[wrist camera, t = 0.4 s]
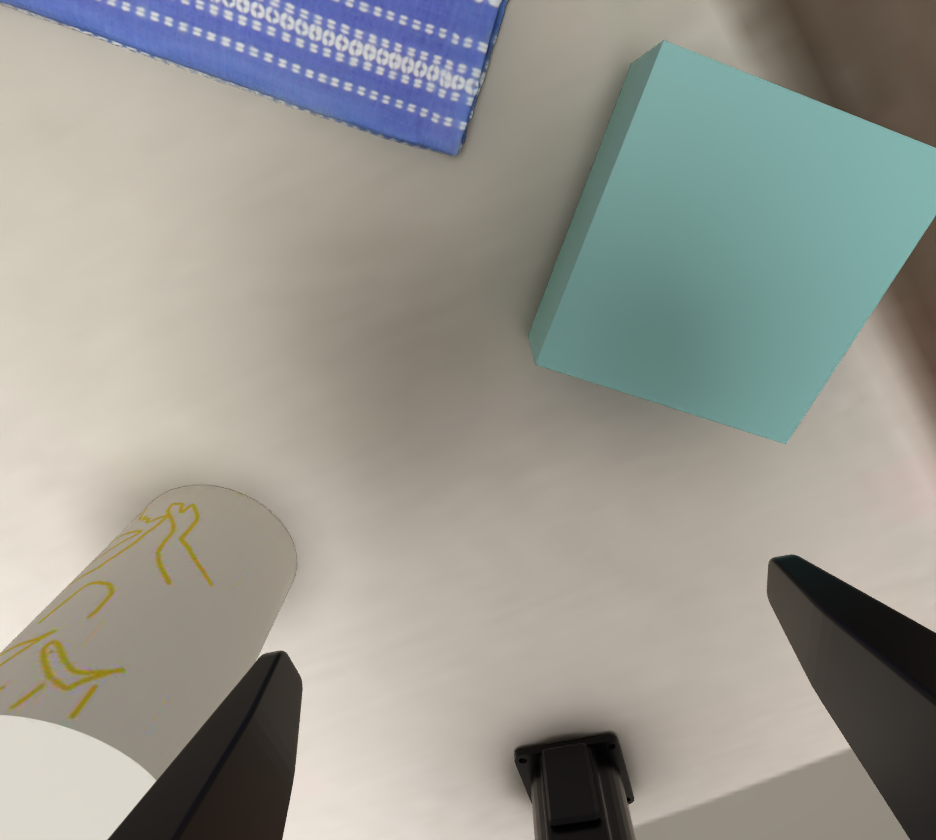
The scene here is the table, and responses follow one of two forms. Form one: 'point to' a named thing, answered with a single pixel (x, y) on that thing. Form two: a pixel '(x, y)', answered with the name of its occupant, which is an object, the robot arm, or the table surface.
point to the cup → (135, 660)
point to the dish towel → (316, 54)
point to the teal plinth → (729, 243)
